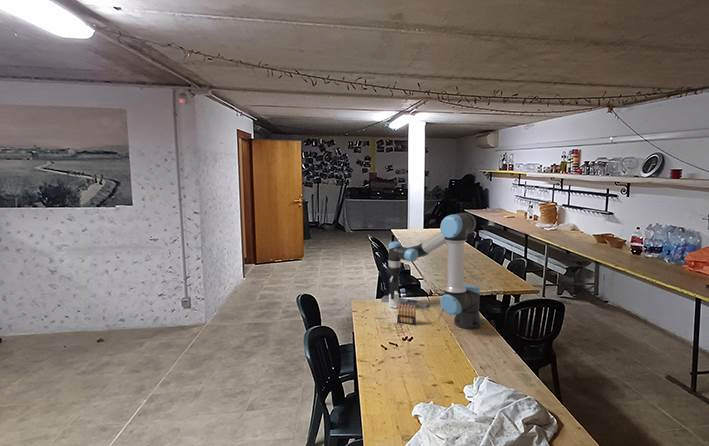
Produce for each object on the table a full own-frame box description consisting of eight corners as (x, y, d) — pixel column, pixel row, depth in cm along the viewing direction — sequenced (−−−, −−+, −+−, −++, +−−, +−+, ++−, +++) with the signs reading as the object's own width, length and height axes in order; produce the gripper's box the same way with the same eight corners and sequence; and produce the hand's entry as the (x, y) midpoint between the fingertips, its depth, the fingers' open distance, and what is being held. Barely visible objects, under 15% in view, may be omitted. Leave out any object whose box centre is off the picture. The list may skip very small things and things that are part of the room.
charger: (398, 305, 250) (398, 293, 248) (396, 307, 246) (396, 295, 244) (391, 304, 252) (391, 292, 250) (388, 306, 248) (388, 294, 246)
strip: (447, 309, 249) (447, 303, 248) (445, 313, 242) (445, 307, 242) (384, 299, 265) (384, 294, 265) (381, 303, 259) (381, 298, 259)
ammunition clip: (416, 324, 226) (416, 304, 224) (415, 325, 224) (415, 305, 222) (397, 321, 229) (398, 302, 228) (397, 323, 228) (397, 303, 226)
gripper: (393, 262, 254) (392, 297, 258) (383, 269, 238) (383, 306, 242) (404, 263, 251) (403, 298, 255) (395, 270, 235) (395, 308, 239)
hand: (393, 302), depth 248 cm, fingers closed on charger, 4 cm apart
